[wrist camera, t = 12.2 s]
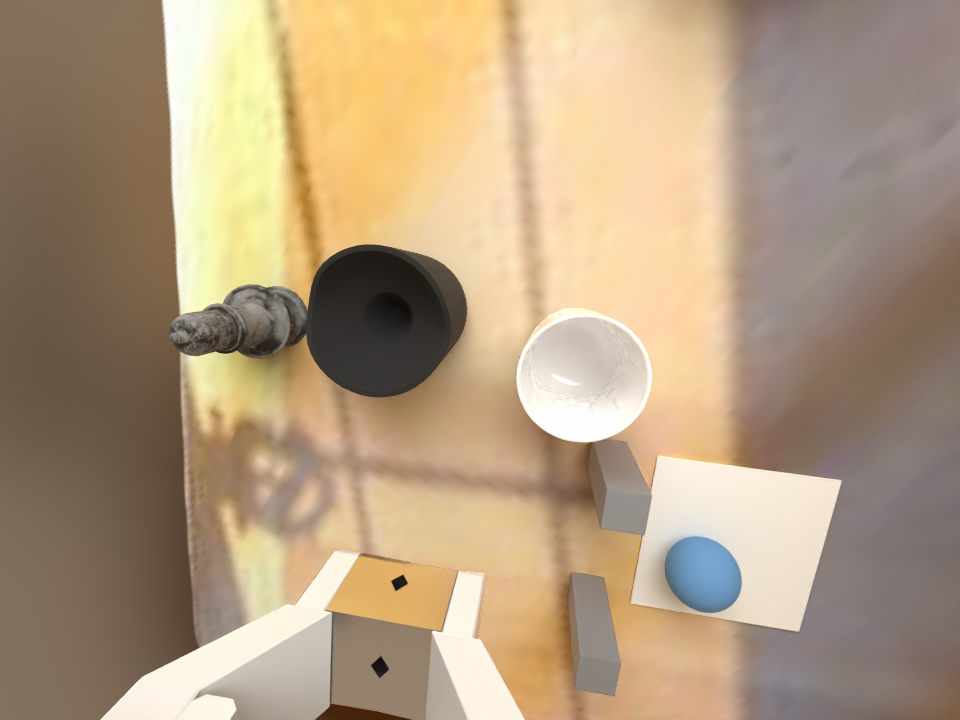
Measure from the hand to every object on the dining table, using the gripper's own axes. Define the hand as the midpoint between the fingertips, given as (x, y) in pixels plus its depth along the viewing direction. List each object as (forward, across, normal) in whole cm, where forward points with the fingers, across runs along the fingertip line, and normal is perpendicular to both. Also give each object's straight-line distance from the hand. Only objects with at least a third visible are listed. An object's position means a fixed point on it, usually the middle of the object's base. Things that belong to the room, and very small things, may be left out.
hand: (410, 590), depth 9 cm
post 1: (+29, -9, +8) cm, 32 cm away
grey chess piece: (+29, +20, 0) cm, 36 cm away
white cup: (+29, -5, 0) cm, 30 cm away
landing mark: (+29, -20, +15) cm, 38 cm away
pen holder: (+29, +8, -2) cm, 31 cm away
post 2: (+29, -9, +21) cm, 37 cm away
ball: (+26, -17, +16) cm, 35 cm away
